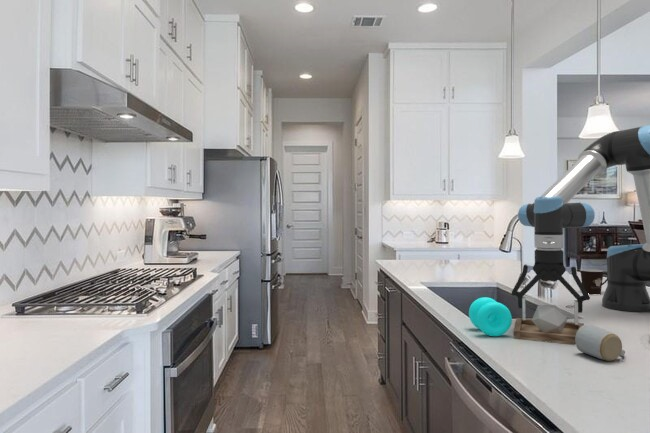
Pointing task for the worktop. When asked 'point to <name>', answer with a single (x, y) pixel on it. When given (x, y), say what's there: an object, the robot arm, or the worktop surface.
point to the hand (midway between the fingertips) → (549, 321)
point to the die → (549, 319)
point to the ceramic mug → (598, 342)
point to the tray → (532, 332)
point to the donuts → (497, 320)
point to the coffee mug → (592, 280)
